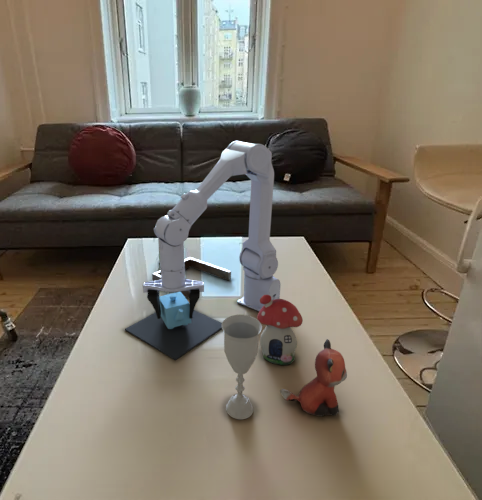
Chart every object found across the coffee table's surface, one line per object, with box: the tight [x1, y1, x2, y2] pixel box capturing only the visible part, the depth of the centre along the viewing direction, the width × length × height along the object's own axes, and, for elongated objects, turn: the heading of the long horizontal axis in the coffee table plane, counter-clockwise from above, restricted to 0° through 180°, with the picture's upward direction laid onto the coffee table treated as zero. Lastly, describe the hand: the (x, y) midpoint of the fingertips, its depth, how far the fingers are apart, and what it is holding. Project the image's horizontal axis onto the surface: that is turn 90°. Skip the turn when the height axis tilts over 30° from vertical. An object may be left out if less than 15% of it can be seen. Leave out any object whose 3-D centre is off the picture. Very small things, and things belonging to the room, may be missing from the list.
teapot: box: [159, 292, 191, 329], centre depth 96 cm, size 12×6×8 cm, turn 19°
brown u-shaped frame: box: [151, 256, 232, 299], centre depth 121 cm, size 18×17×3 cm
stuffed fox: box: [279, 338, 348, 417], centre depth 70 cm, size 8×11×12 cm
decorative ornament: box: [256, 295, 304, 366], centre depth 83 cm, size 9×6×15 cm
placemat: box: [124, 309, 223, 361], centre depth 97 cm, size 18×18×1 cm
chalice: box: [221, 314, 263, 420], centre depth 68 cm, size 7×7×18 cm
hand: (175, 316), depth 96 cm, fingers closed on teapot, 7 cm apart
